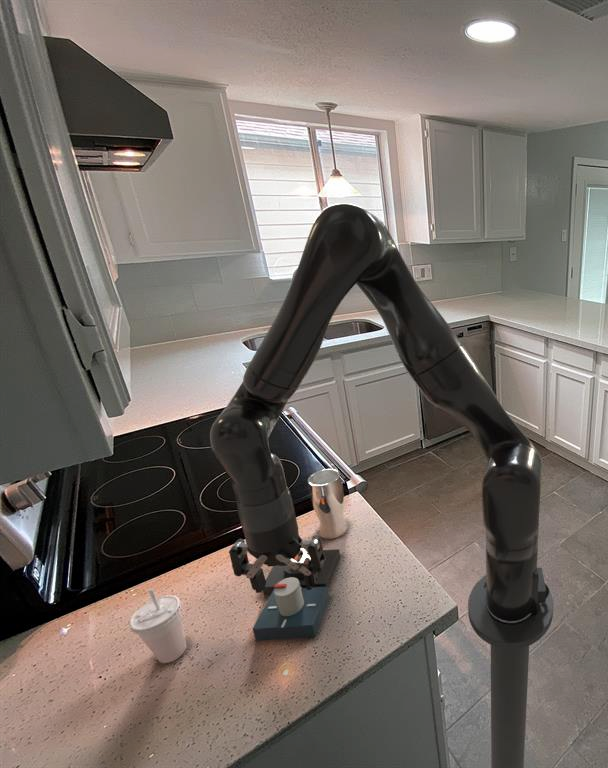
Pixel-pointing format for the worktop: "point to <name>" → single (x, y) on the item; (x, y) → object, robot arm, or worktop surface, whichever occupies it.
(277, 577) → the orange push button panel
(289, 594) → the dial
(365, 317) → the worktop surface
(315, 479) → the silver metal cup
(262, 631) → the knob panel
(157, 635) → the smoothie
